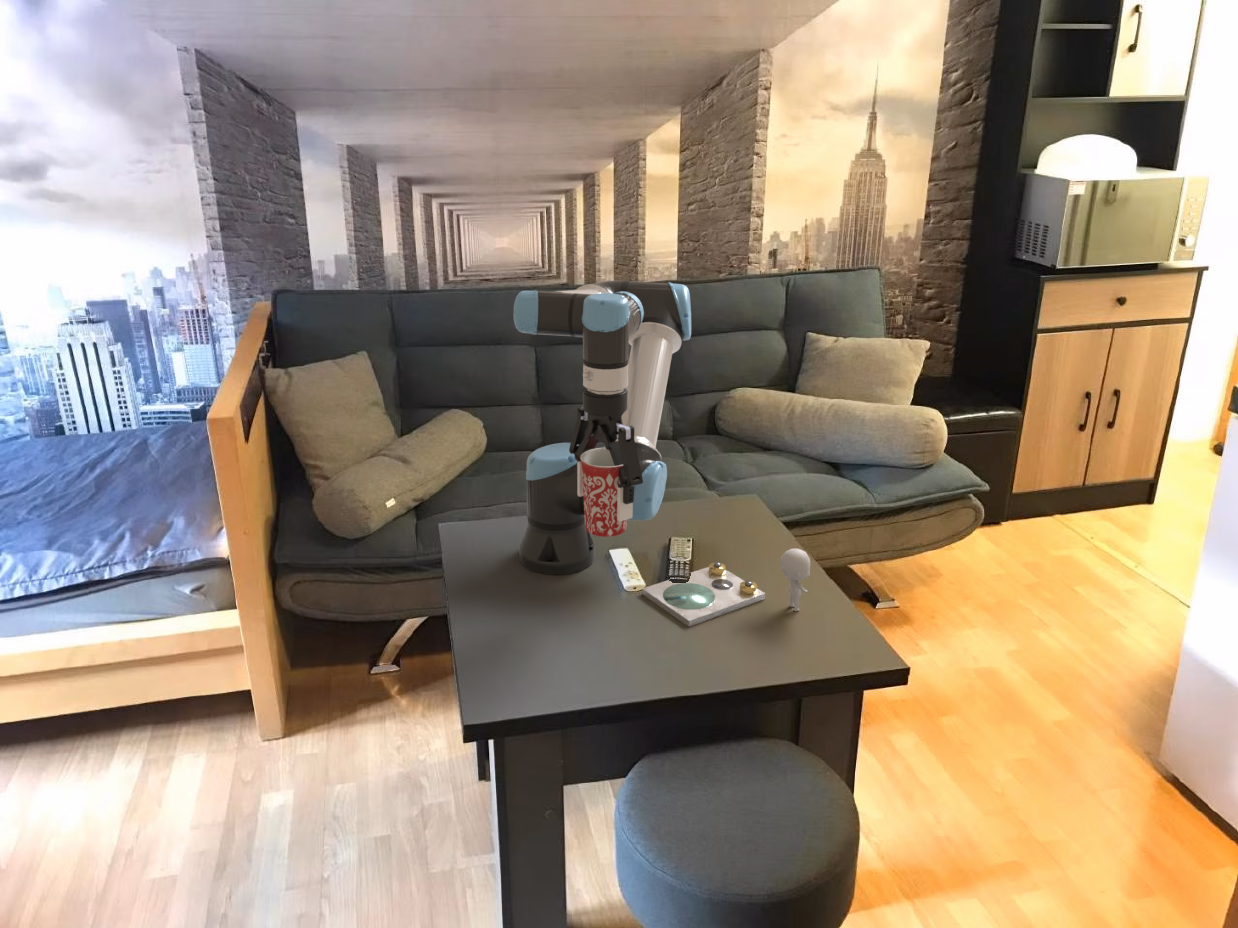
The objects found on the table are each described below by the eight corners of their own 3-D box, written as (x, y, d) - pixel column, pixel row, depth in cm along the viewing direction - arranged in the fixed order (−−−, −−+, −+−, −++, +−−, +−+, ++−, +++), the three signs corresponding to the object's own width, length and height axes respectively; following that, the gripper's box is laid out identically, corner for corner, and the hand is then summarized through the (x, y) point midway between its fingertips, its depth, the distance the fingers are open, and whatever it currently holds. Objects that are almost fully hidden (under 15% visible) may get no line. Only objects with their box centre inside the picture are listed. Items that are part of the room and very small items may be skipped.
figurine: (815, 617, 174) (821, 557, 170) (789, 622, 172) (795, 562, 168) (792, 596, 181) (798, 538, 177) (767, 600, 179) (772, 542, 175)
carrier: (642, 594, 181) (642, 579, 180) (716, 569, 191) (717, 555, 190) (689, 626, 171) (689, 611, 169) (764, 599, 180) (765, 584, 179)
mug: (637, 537, 166) (638, 464, 161) (584, 541, 164) (584, 467, 160) (622, 507, 178) (623, 438, 173) (573, 511, 176) (573, 441, 171)
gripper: (548, 374, 169) (550, 488, 177) (628, 411, 151) (626, 536, 159) (585, 367, 173) (584, 479, 181) (666, 403, 155) (662, 526, 163)
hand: (604, 506), depth 170 cm, fingers closed on mug, 12 cm apart
